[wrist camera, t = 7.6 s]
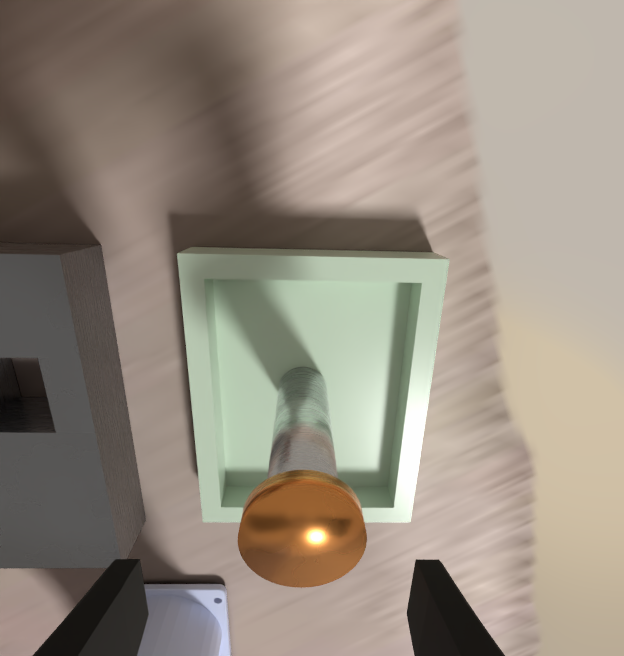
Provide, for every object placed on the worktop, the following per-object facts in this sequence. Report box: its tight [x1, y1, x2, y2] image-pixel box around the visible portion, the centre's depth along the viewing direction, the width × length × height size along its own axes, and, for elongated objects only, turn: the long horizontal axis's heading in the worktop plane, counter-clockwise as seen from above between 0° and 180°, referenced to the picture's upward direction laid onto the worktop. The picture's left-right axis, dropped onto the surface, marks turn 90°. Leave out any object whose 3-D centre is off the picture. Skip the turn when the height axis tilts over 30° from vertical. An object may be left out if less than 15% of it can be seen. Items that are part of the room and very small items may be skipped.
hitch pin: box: [238, 367, 367, 587], centre depth 15 cm, size 4×4×9 cm
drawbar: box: [0, 243, 146, 568], centre depth 18 cm, size 16×7×3 cm, turn 179°
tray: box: [177, 247, 449, 522], centre depth 18 cm, size 14×11×2 cm
